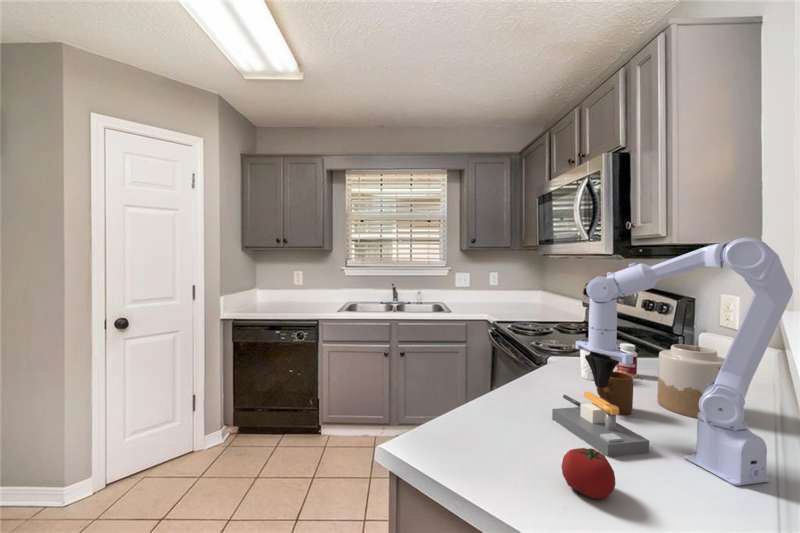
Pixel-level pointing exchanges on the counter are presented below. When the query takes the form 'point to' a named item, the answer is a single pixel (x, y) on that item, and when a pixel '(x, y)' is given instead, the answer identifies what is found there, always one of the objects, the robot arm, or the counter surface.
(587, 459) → the tomato
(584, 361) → the white cup
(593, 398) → the clip
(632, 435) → the grey piece
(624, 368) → the pill bottle
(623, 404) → the mug
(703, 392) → the robot arm
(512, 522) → the counter surface
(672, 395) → the vase
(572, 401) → the plug
